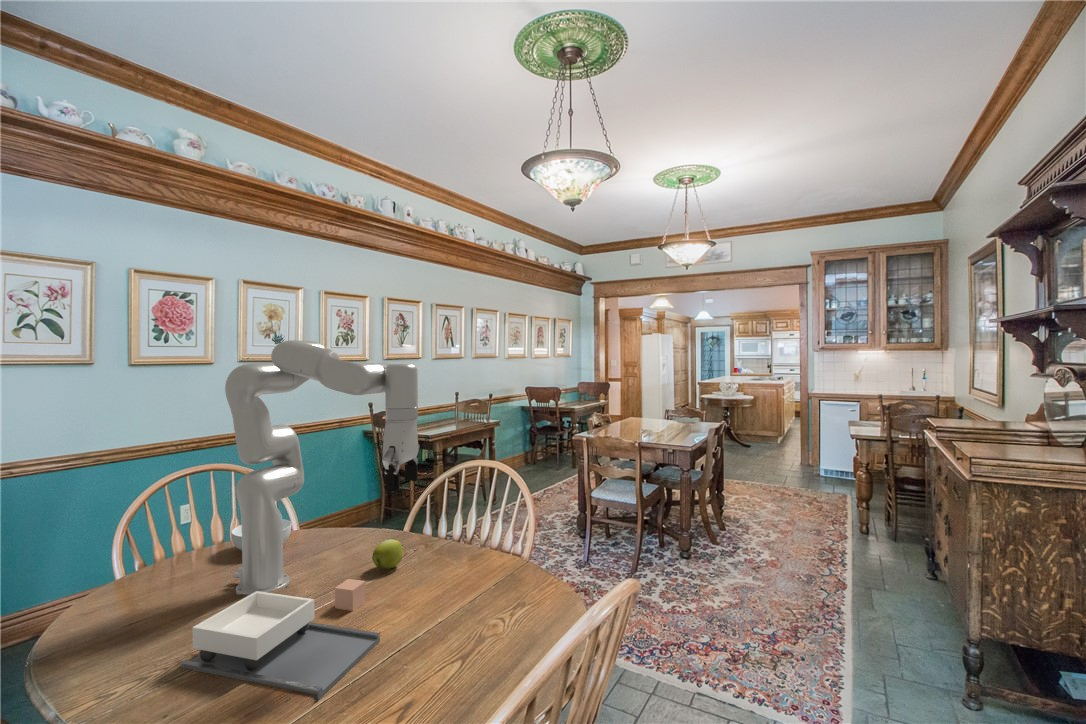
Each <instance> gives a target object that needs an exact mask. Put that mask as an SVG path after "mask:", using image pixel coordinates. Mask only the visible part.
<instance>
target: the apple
mask: <svg viewBox="0 0 1086 724" xmlns="http://www.w3.org/2000/svg"><path fill="white" fill-rule="evenodd" d="M372 552H373V553H372V556H371V558H372V562H373V564H374V565H375V566H376V567H377V568H378V569H382V570H385V569H386V570H390V569H392V568H395V567H396V566H397V565H399V563H401V561H402V559H403V556H404V549H403V545H402V543H401V542H400V541H399V540H396V539H392V538H391V539H385V540H383V541H382V542H380V543H379V544H378V545H377V546H376V547H375V548H374V550H373V551H372Z"/></svg>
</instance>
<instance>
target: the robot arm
mask: <svg viewBox="0 0 1086 724" xmlns="http://www.w3.org/2000/svg"><path fill="white" fill-rule="evenodd" d="M270 356H271V361H272V362H251V363H246V364H245V363H244V364H241V365H238V366H237V367H235V368H233V369H232V370H231V372H230V373H229V374H228V376H227V378H226V380H225V387H224V391H225V392H224V393H225V397H226V401H227V404H228V406H229V409H230V412H231V415H232V420H233V421H232V422H233V429H234V437H235V444H236V451H237V454H238V457H239V460H240V461H241V463H243V464H244V465H248V466H255V465H260V464H264V463H269V462H272V465H271V466H266V467H262V468H257V469H255V470H252V471H250V472H247V473H246V474H244V475H243V476H242V477H241V478H240V479H239V480H238V482H237V484H236V489H235V490H236V491H235V492H236V497H237V502H238V506H239V509H240V519H241V525H242V550H241V552H242V553H241V555H242V557H241V558H242V559H241V560H242V562H241V563H242V566H239V567H238V568H237V569H236V571H235V572H234V573H233V575H232V577H233V578H234V579H239V583H238V584H237V585H236V587H235V594H236V595H237V596H240V595H247V596H249V595H251V594H252V593H254V592H256V591H260V592H267V593H271V592H272V591H275V590H278V589H280V588H286V587H287V586H288V585H290V581H291V578H290V575H289V574H288V573H285V572H284V543H283V525H282V519H283V516H282V512H281V511H280V509H279V508H278V507H277V504H276V502H278V501H279V500H282V499H283V500H284V499H286V498H288V497H291V496H293V495H296V494H297V493H299V492H300V491H301V490H302V488H303V487H304V482H305V471H304V464H303V458H302V452H301V445H300V439H299V436H298V435H297V433H296V431H295V430H294V429H293V428H291V427H290V426H289V425H286V424H275V425H272V423H271V418H270V417H271V416H270V412H269V409H268V407H267V405H266V404H265V402H264V401H263V400H262V399H261V398H260V397H259V396H262V395H272V394H282V393H288V392H292V391H295V390H296V389H298V388H299V387H301V386H302V385H303V384H305V383H306V382H307V381H309V380H313V381H317V382H319V383H320V384H321V385H323V386H324V387H325V388H327V389H328V390H329V389H330V390H333V391H336V392H339V393H342V394H343V393H344V394H347V395H351V396H352V395H353V396H365V395H373V394H374V395H375V394H382V393H385V396H384V397H385V400H384V401H385V408H384V409H385V426H384V430H383V431H384V432H383V438H382V439H383V441H382V459H381V461H382V465H383V466H382V467H383V469H384V475H385V490H386V492H394V493H395V492H399V491H400V489H401V487H400V486H401V484H400V483H401V482H400V481H401V480H400V479H401V478H400V475H401V474H400V473H399V471H400V468H401V465H404V480H405V481H408V482H409V481H410V482H411V481H412V482H416V481H418V478H419V477H418V476H419V475H418V470H419V469H418V467H419V466H418V464H419V459H418V458H419V456H420V455H419V454H420V452H419V451H420V444H419V435H418V424H417V421H419V406H418V404H419V398H418V397H419V395H418V394H419V393H418V392H419V389H418V387H419V386H418V385H419V384H418V383H419V382H418V377H419V376H418V374H419V373H418V368H417V366H416V365H415V364H412V363H392V364H391V363H387V362H386V363H385V362H360V363H358V362H351V361H347V360H343V359H340V356H339V355H338V353H337V352H336V351H335V350H333V349H330V348H326V347H325V346H324V345H323V344H322V343H320V342H318V341H312V340H294V339H293V340H292V339H291V340H284V341H282V342H279V343H278V344H276V346H274V348H273V349H272V351H271V355H270Z"/></svg>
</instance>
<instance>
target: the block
mask: <svg viewBox="0 0 1086 724" xmlns="http://www.w3.org/2000/svg"><path fill="white" fill-rule="evenodd" d="M366 586H367V585H366V580H360V579H351V578H348V579H345V580H344V581H342V583H340V584H338V585H337V586H336V587H334V608H335V609H338V610H345V611H350V612H354V611H355V610H356V609H358V608H359V607H360V606H361V605H363V604H364V603H365V602H366V601H367V599H366V598H367V597H366V596H367V594H366V593H367V592H366V588H367V587H366Z"/></svg>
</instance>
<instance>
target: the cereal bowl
mask: <svg viewBox="0 0 1086 724" xmlns="http://www.w3.org/2000/svg"><path fill="white" fill-rule="evenodd" d="M282 525H283V544H284V543H285V542H286V541H287V540H288V539H289V538H290V535H291V532H292V527H293V525H292V522H291V521H290V520H287V519H285V518H284V519H283V518H282ZM230 535H231V536H230V538H231V542H232V544H233V545H234V546H235V548H237V549H239V550H241V551H242V524H240V525H238V526H236V527H234V528H233V529H232V530H231V532H230Z"/></svg>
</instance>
